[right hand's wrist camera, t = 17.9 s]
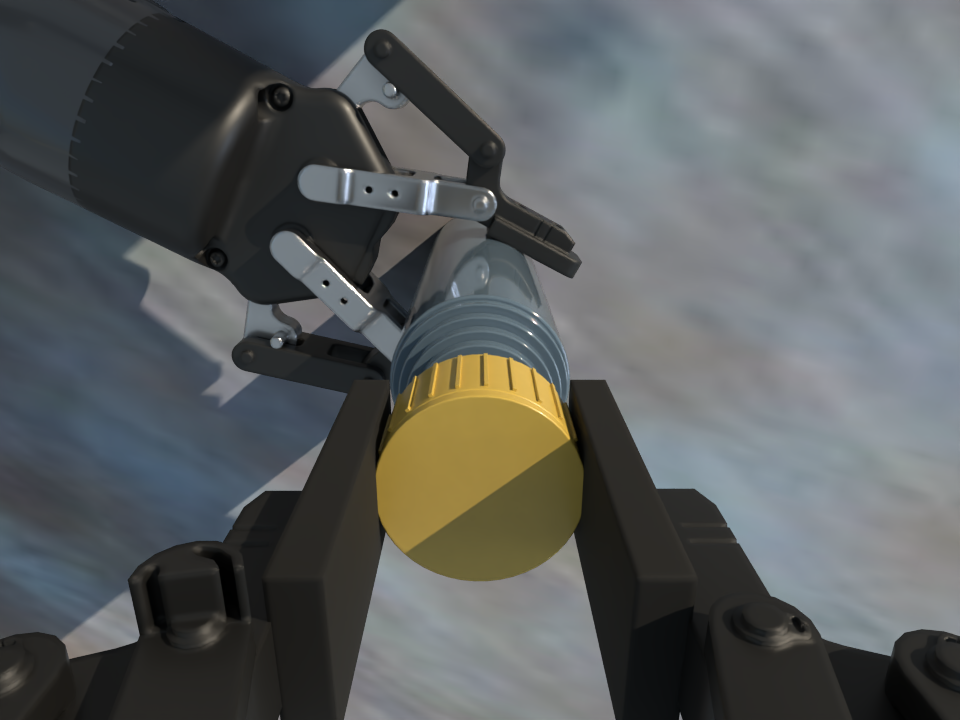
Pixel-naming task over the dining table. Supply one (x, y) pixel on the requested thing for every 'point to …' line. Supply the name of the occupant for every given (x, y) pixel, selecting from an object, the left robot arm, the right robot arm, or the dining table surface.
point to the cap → (479, 469)
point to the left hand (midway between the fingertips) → (538, 324)
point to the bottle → (478, 310)
